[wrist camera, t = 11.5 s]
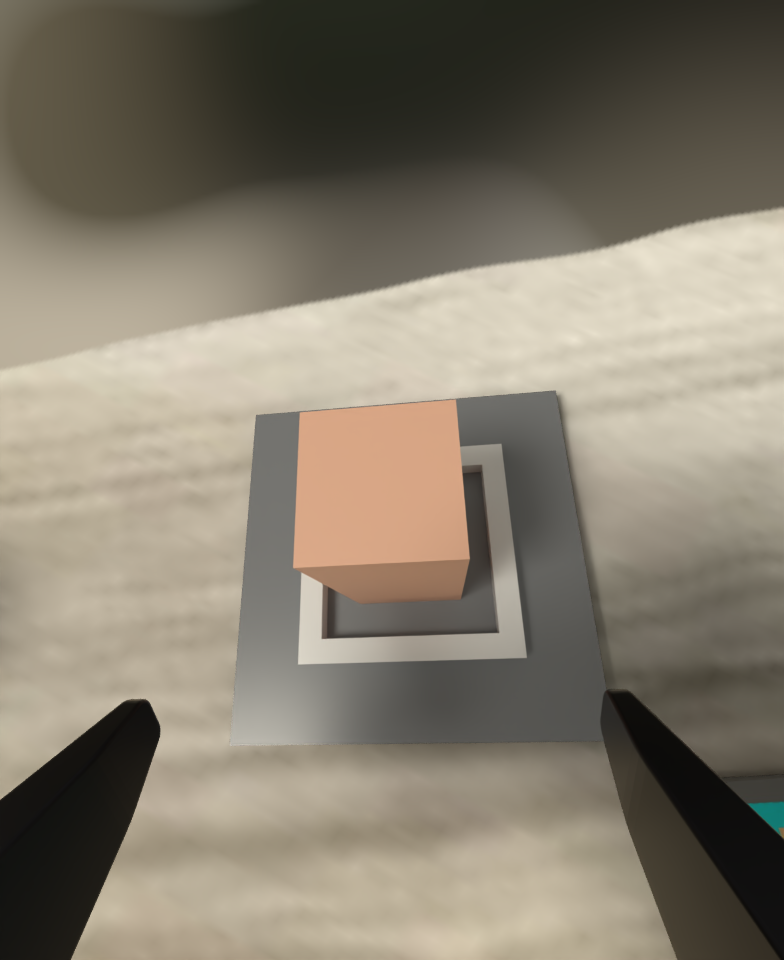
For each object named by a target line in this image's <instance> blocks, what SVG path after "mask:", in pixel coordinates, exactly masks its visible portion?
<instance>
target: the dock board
mask: <svg viewBox="0 0 784 960" xmlns="http://www.w3.org/2000/svg"><path fill="white" fill-rule="evenodd" d="M447 400H456V406H457V418H458V429H459V441H460V452H461V464H462V475H463V487H464V498H465V510H466V521H467V533H468V544H469V556H470V560H469V565H468V569H467V574H466V578H465V583H464V587H463V592H462V596H461V600H442V601H418V602H394V603H370V604H359V603H358V602H356V601H354V600H352V599H350V598H348V597H346V596H345V595H343V594H341V593H339V592H337V591H335V590H333V589H331V588H330V587H328V586H326V585H324V584H322V583H320V582H318V581H317V580H315V579H313V578H311V577H309V576H307V575H305V574H303V573H302V572H300V571H298V570H296V569H294V568H293V560H294V536H295V513H296V490H297V466H298V443H299V420H300V412H311V411H300V412H288V413H276V414H264V415H256V422H255V435H254V447H253V460H252V472H251V485H250V497H249V510H248V522H247V535H246V548H245V560H244V573H243V585H242V598H241V610H240V623H239V635H238V648H237V660H236V673H235V685H234V698H233V710H232V723H231V735H230V746H244V745H329V744H413V743H498V742H582V741H604V739H603V736H602V731H601V725H600V717H601V709H602V701H603V694H604V692H605V691H606V690H607V689H606V683H605V677H604V671H603V666H602V660H601V654H600V648H599V642H598V636H597V630H596V624H595V619H594V613H593V607H592V601H591V595H590V589H589V583H588V578H587V572H586V566H585V560H584V554H583V548H582V542H581V537H580V531H579V525H578V519H577V513H576V507H575V501H574V495H573V490H572V484H571V478H570V472H569V466H568V460H567V454H566V449H565V443H564V437H563V431H562V425H561V419H560V413H559V407H558V402H557V396H556V391H544V392H532V393H520V394H508V395H495V396H483V397H471V398H459V399H447ZM434 401H444V400H434ZM422 402H432V401H422ZM410 403H420V402H410ZM398 404H408V403H398ZM386 405H396V404H386ZM373 406H384V405H373ZM361 407H372V406H361ZM349 408H360V407H349ZM337 409H348V408H337ZM325 410H336V409H325ZM312 411H323V410H312Z"/></svg>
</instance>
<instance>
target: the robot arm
mask: <svg viewBox="0 0 784 960" xmlns="http://www.w3.org/2000/svg"><path fill="white" fill-rule="evenodd" d="M600 725H601V731H602V736H603V739H604V743H605V747H606V750H607V754H608V758H609V761H610V765H611V769H612V773H613V776H614V780H615V784H616V787H617V791H618V795H619V799H620V802H621V806H622V810H623V813H624V817H625V820H626V823H627V826H628V829H629V832H630V835H631V838H632V840H633V843H634V846H635V848H636V851H637V854H638V856H639V859H640V862H641V864H642V867H643V870H644V872H645V875H646V878H647V880H648V883H649V886H650V888H651V891H652V894H653V896H654V899H655V901H656V904H657V907H658V909H659V912H660V915H661V917H662V920H663V923H664V925H665V928H666V931H667V933H668V936H669V939H670V941H671V944H672V947H673V949H674V952H675V954H676V957H677V960H784V838H783V837H782V836H781V835H780V834H779V833H778V832H777V831H776V830H775V829H774V828H773V827H771V826H770V825H769V824H768V823H767V822H766V821H765V820H764V819H763V818H762V817H761V816H760V815H759V814H758V813H757V812H756V811H755V810H754V809H753V808H752V807H751V806H750V805H749V804H747V803H746V802H745V801H744V800H743V799H742V798H741V797H740V796H739V795H738V794H737V793H736V792H735V791H734V790H733V789H732V788H731V787H730V786H729V785H728V784H727V783H726V782H725V781H723V780H722V779H721V778H720V777H719V776H718V775H717V774H716V773H715V772H714V771H713V770H712V769H711V768H710V767H709V766H708V765H707V764H706V763H705V762H704V761H703V760H702V759H700V758H699V757H698V756H697V755H696V754H695V753H694V752H693V751H692V750H691V749H690V748H689V747H688V746H687V745H686V744H685V743H684V742H683V741H682V740H681V739H680V738H679V737H678V736H676V735H675V734H674V733H673V732H672V731H671V730H670V729H669V728H668V727H667V726H666V725H665V724H664V723H663V722H662V721H661V720H660V719H659V718H658V717H657V716H656V715H655V714H654V713H652V712H651V711H650V710H649V709H648V708H647V707H646V706H645V705H644V704H643V703H642V702H641V701H640V700H639V699H638V698H637V697H636V696H635V695H634V694H633V693H631V692H630V691H628V690H626V689H608V690H606V691H605V692H604V694H603V701H602V709H601V717H600ZM159 738H160V725H159V722H158V720H157V718H156V715H155V713H154V711H153V709H152V707H151V704H150V703H149V701H147V700H146V699H131V700H126V701H124V702H123V703H121V704H120V705H119V706H118V707H116V708H115V709H114V710H112V711H111V712H110V713H109V714H107V715H106V716H105V717H104V718H102V719H101V720H100V721H99V722H97V723H96V724H95V725H94V726H92V727H91V728H90V729H89V730H87V731H86V732H85V733H84V734H82V735H81V736H80V737H79V738H77V739H76V740H75V741H74V742H72V743H71V744H70V745H69V746H67V747H66V748H65V749H64V750H62V751H61V752H60V753H59V754H57V755H56V756H55V757H54V758H52V759H51V760H50V761H48V762H47V763H46V764H45V765H43V766H42V767H41V768H40V769H38V770H37V771H36V772H35V773H33V774H32V775H31V776H30V777H28V778H27V779H26V780H25V781H23V782H22V783H21V784H20V785H18V786H17V787H16V788H15V789H13V790H12V791H11V792H10V793H8V794H7V795H6V796H5V797H3V798H2V799H1V800H0V960H71V958H72V956H73V954H74V951H75V949H76V947H77V944H78V942H79V940H80V938H81V935H82V933H83V931H84V928H85V926H86V924H87V921H88V919H89V917H90V915H91V912H92V910H93V908H94V905H95V903H96V901H97V899H98V896H99V894H100V892H101V889H102V887H103V885H104V883H105V880H106V878H107V876H108V873H109V871H110V869H111V866H112V864H113V862H114V860H115V857H116V855H117V853H118V850H119V848H120V846H121V844H122V841H123V839H124V837H125V834H126V832H127V830H128V827H129V825H130V822H131V820H132V817H133V814H134V812H135V809H136V806H137V803H138V800H139V797H140V794H141V791H142V788H143V786H144V783H145V780H146V777H147V774H148V771H149V768H150V765H151V762H152V759H153V756H154V753H155V750H156V747H157V744H158V741H159Z"/></svg>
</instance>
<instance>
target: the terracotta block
mask: <svg viewBox="0 0 784 960" xmlns="http://www.w3.org/2000/svg"><path fill="white" fill-rule="evenodd" d="M469 560H470V556H469V544H468V533H467V521H466V510H465V498H464V487H463V475H462V464H461V452H460V441H459V429H458V418H457V406H456V400H444V401H432V402H420V403H408V404H396V405H384V406H372V407H360V408H348V409H336V410H323V411H311V412H300V420H299V443H298V466H297V490H296V513H295V536H294V560H293V568H294V569H296V570H298V571H300V572H302V573H303V574H305V575H307V576H309V577H311V578H313V579H315V580H317V581H318V582H320V583H322V584H324V585H326V586H328V587H330V588H331V589H333V590H335V591H337V592H339V593H341V594H343V595H345V596H346V597H348V598H350V599H352V600H354V601H356V602H358V603H359V604H370V603H394V602H418V601H442V600H461V596H462V592H463V587H464V583H465V578H466V574H467V569H468V565H469Z"/></svg>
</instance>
